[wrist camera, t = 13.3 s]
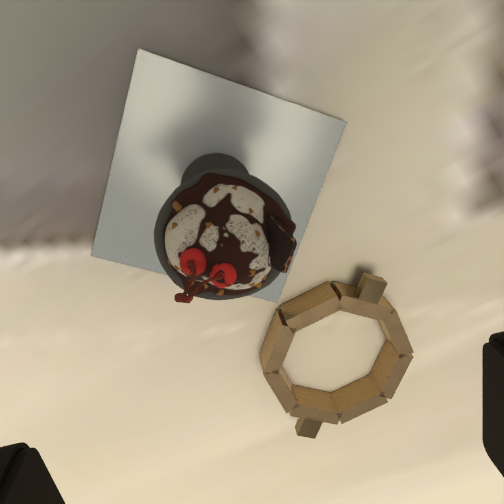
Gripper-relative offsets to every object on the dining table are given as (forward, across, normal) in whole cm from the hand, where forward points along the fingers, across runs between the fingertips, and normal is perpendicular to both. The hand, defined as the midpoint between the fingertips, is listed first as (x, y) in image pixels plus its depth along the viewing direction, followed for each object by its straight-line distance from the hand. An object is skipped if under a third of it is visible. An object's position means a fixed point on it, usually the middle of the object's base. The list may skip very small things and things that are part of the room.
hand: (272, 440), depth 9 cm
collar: (+24, -6, +16) cm, 29 cm away
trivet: (+24, +1, 0) cm, 24 cm away
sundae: (+24, +1, 0) cm, 24 cm away
